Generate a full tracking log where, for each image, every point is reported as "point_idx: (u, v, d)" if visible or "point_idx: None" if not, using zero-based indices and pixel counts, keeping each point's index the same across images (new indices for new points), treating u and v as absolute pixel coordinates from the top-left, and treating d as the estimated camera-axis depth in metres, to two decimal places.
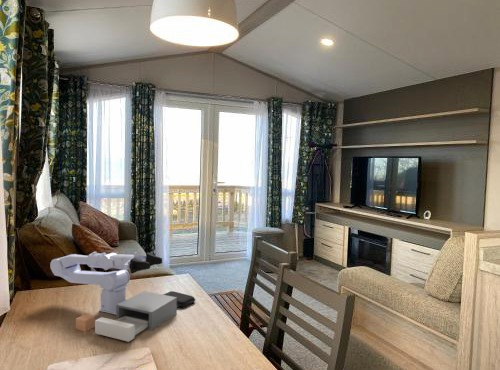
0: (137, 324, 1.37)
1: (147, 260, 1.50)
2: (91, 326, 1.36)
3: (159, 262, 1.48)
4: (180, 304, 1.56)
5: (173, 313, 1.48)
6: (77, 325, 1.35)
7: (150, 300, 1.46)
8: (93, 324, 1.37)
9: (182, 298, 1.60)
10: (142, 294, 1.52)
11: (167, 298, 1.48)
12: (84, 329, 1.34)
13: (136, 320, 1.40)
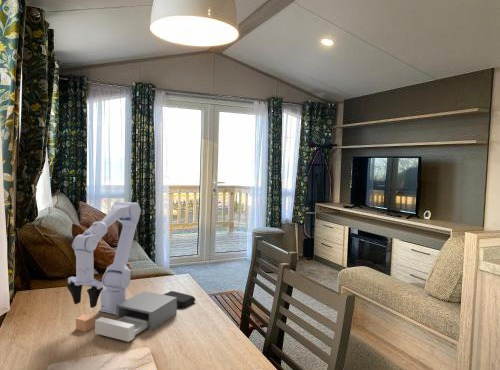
0: (137, 324, 1.37)
1: None
2: (91, 326, 1.36)
3: None
4: (180, 304, 1.56)
5: (173, 313, 1.48)
6: (77, 325, 1.35)
7: (150, 300, 1.46)
8: (93, 324, 1.37)
9: (183, 298, 1.60)
10: (142, 294, 1.52)
11: (167, 298, 1.48)
12: (84, 329, 1.34)
13: (136, 320, 1.40)
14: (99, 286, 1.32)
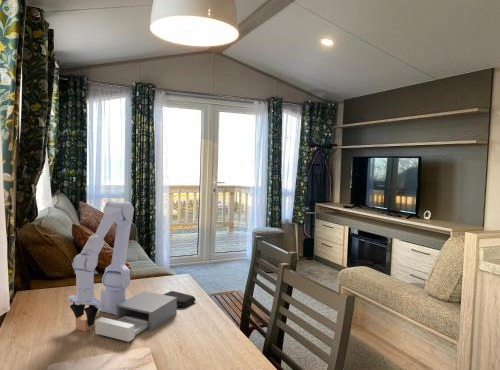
0: (137, 324, 1.37)
1: None
2: (91, 326, 1.36)
3: None
4: (180, 304, 1.56)
5: (173, 313, 1.48)
6: (77, 325, 1.35)
7: (150, 300, 1.46)
8: (93, 324, 1.37)
9: (183, 298, 1.60)
10: (142, 294, 1.52)
11: (167, 298, 1.48)
12: (84, 329, 1.34)
13: (136, 320, 1.40)
14: (99, 305, 1.33)
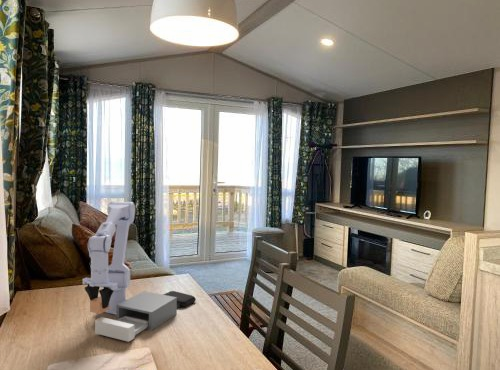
0: (137, 324, 1.37)
1: None
2: (105, 308, 1.35)
3: None
4: (181, 304, 1.56)
5: (173, 313, 1.48)
6: (91, 307, 1.34)
7: (150, 300, 1.46)
8: None
9: (183, 298, 1.60)
10: (142, 294, 1.52)
11: (167, 298, 1.48)
12: (98, 311, 1.32)
13: (136, 320, 1.40)
14: (114, 287, 1.31)
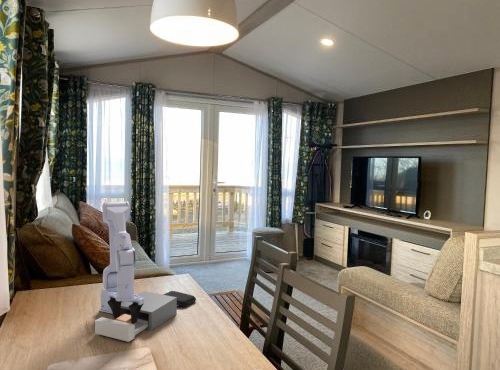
0: (137, 324, 1.37)
1: None
2: None
3: None
4: (181, 303, 1.56)
5: (173, 313, 1.48)
6: None
7: (150, 300, 1.46)
8: None
9: (183, 297, 1.60)
10: (142, 294, 1.52)
11: (167, 298, 1.48)
12: None
13: None
14: (141, 302, 1.30)
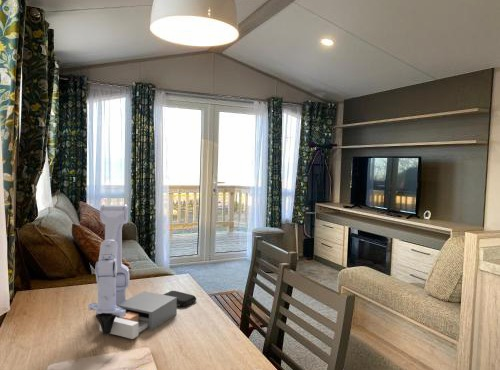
0: (141, 322, 1.39)
1: None
2: None
3: None
4: (182, 303, 1.57)
5: (173, 313, 1.48)
6: None
7: (150, 300, 1.46)
8: None
9: (184, 297, 1.61)
10: (142, 294, 1.52)
11: (167, 298, 1.48)
12: None
13: (140, 318, 1.42)
14: (122, 314, 1.25)
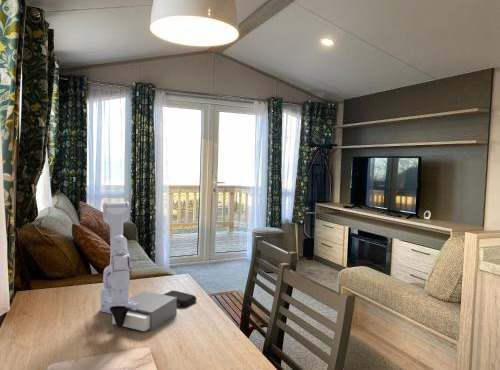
0: None
1: None
2: None
3: None
4: (182, 303, 1.57)
5: (173, 313, 1.48)
6: None
7: (150, 300, 1.46)
8: None
9: (184, 297, 1.61)
10: (142, 294, 1.52)
11: (167, 298, 1.48)
12: None
13: None
14: (135, 307, 1.31)
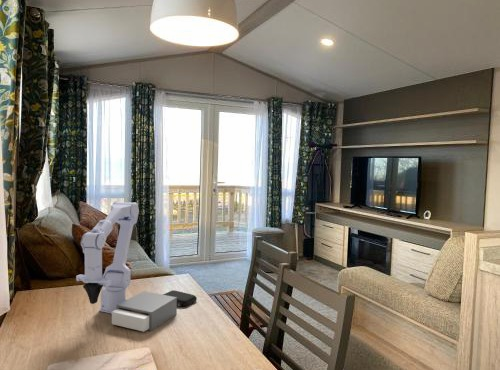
0: None
1: None
2: None
3: None
4: (182, 303, 1.57)
5: (173, 313, 1.48)
6: None
7: (150, 300, 1.46)
8: None
9: (184, 297, 1.61)
10: (142, 294, 1.52)
11: (167, 298, 1.48)
12: None
13: None
14: (108, 284, 1.32)
